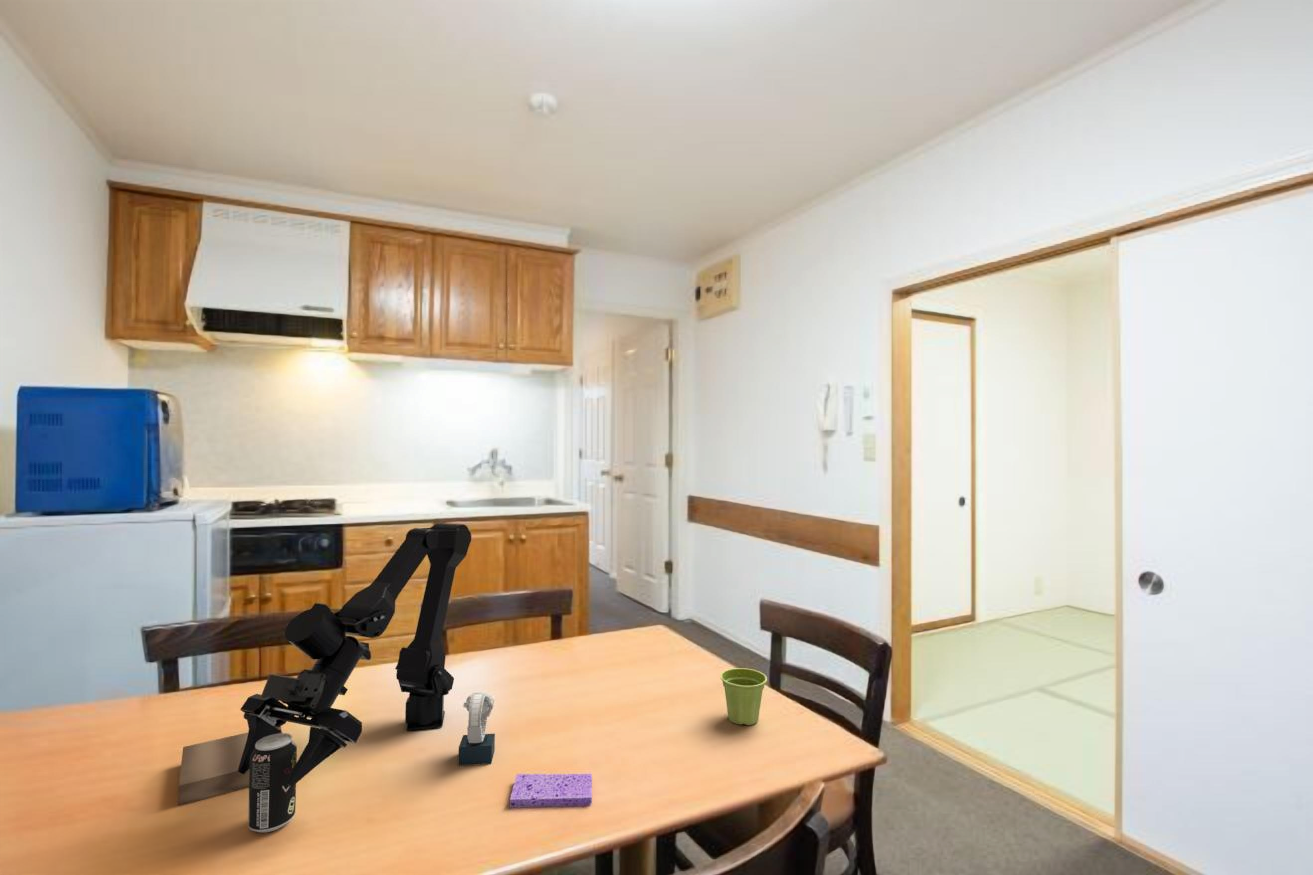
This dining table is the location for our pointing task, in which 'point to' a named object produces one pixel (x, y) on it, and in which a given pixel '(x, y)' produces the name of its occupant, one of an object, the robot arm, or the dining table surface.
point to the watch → (477, 731)
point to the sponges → (551, 790)
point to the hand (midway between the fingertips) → (264, 778)
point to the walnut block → (212, 769)
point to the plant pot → (743, 694)
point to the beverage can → (271, 783)
